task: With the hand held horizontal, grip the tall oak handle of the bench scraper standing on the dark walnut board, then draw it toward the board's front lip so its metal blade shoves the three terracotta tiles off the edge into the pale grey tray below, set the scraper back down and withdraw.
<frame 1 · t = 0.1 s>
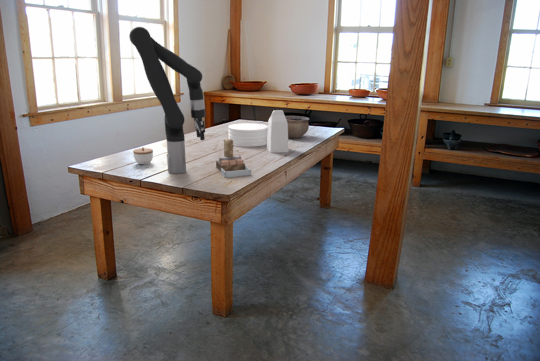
hand: (200, 138, 231), 17 cm above the table, tool pointing down, fingers open, 8 cm apart
ceramic bowl: (294, 137, 324), on the table
tile mid: (232, 164, 232), point 4 cm above the table, touching board
milk: (277, 150, 282), on the table
tile left: (224, 164, 231), point 4 cm above the table, touching board
tray: (235, 174, 228), on the table
tile right: (239, 163, 234), point 4 cm above the table, touching board
board: (230, 169, 236), on the table
lidded jar: (144, 163, 247), on the table
plate stack: (248, 142, 306), on the table
scraper: (228, 161, 238), point 4 cm above the table, touching board
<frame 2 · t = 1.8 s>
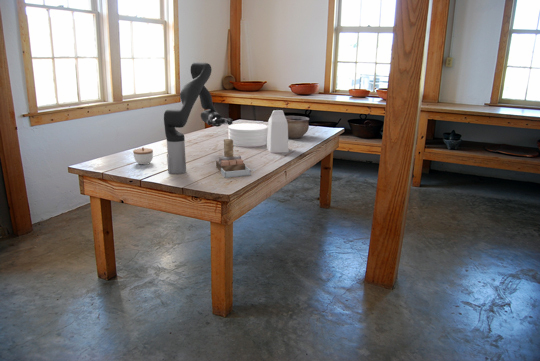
hand: (222, 123, 242), 23 cm above the table, tool horizontal, fingers open, 8 cm apart
nothing on the table moved.
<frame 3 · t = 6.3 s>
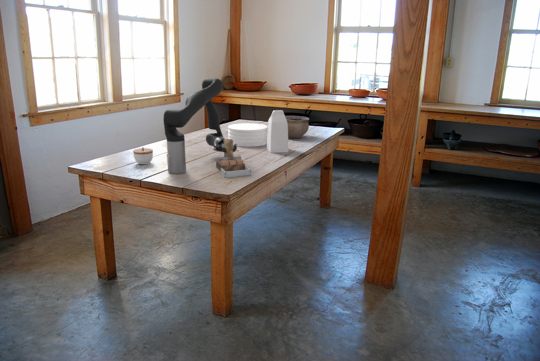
hand: (230, 150, 234), 11 cm above the table, tool horizontal, fingers closed on scraper, 4 cm apart
scraper: (228, 161, 238), point 4 cm above the table, touching board, gripper
everything else where it was.
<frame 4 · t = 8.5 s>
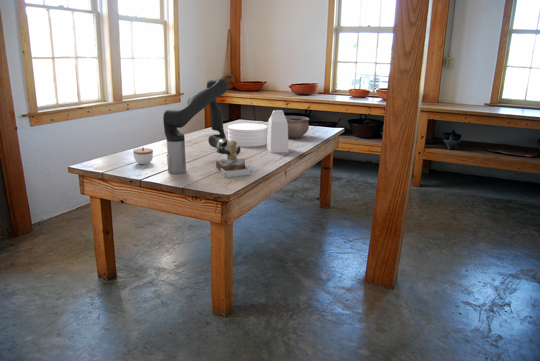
hand: (233, 153, 227), 11 cm above the table, tool horizontal, fingers closed on scraper, 4 cm apart
tile mid: (236, 170, 226), point 2 cm above the table, tilted 180°, touching tray
tile left: (228, 171, 224), point 2 cm above the table, tilted 180°, touching tray
tile right: (244, 169, 227), point 2 cm above the table, tilted 180°, touching tray
scraper: (232, 163, 232), point 4 cm above the table, touching gripper
everything else where it was.
when the fingers open (11 cm above the table, at t = 10.6 s): scraper stays where it is, resting on board.
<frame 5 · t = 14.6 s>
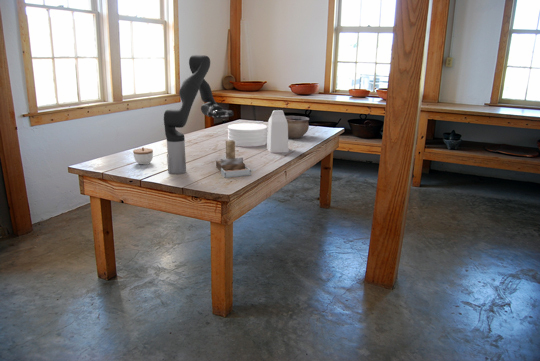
hand: (223, 115, 239), 28 cm above the table, tool horizontal, fingers open, 8 cm apart
scraper: (230, 162, 235), point 4 cm above the table, touching board
everything else where it was.
at the end: tile left inside the target area on the tray (4.1 cm from its centre), point 2.4 cm above the tray's base; tile mid inside the target area on the tray (0.8 cm from its centre), point 2.4 cm above the tray's base; tile right inside the target area on the tray (4.3 cm from its centre), point 2.4 cm above the tray's base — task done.
